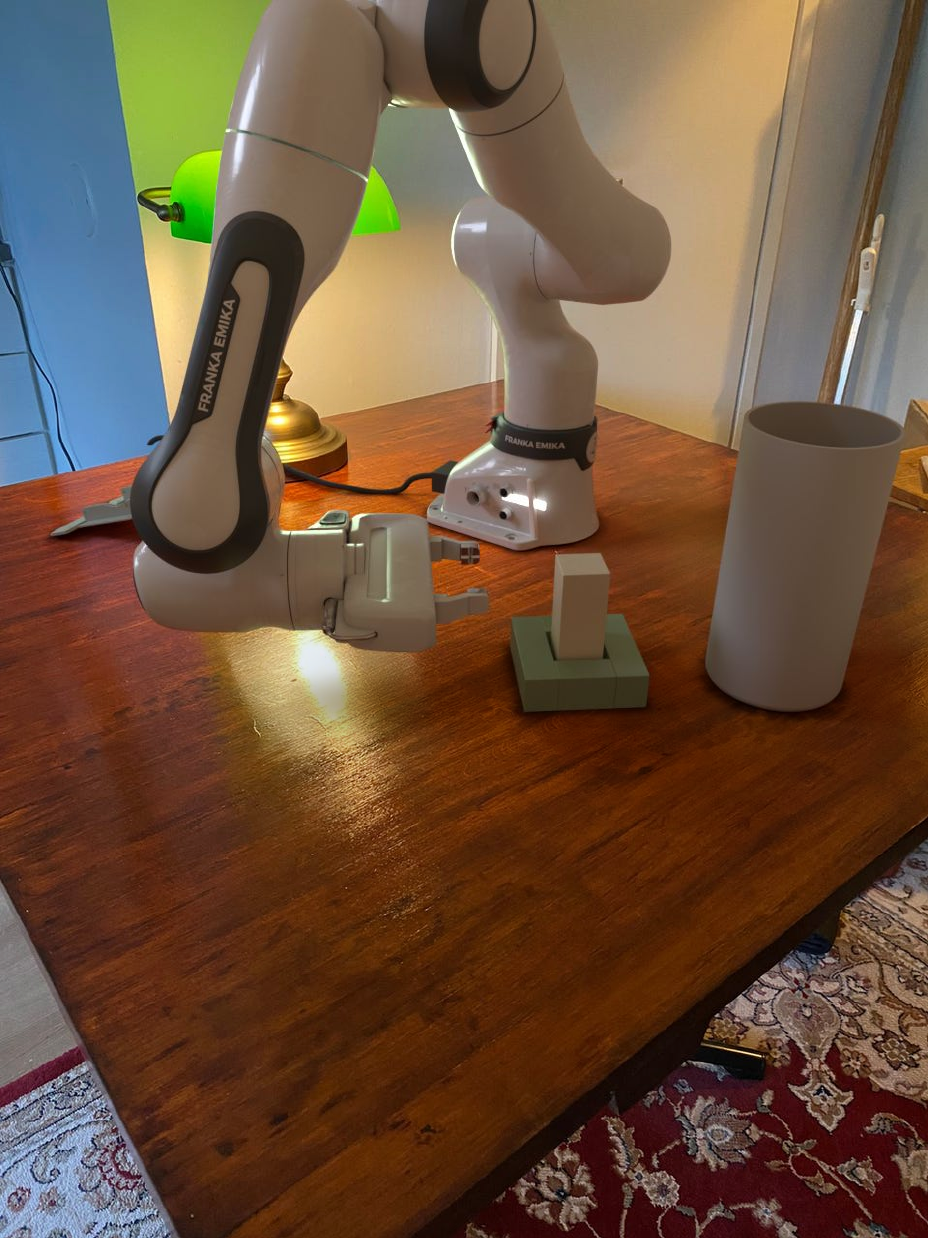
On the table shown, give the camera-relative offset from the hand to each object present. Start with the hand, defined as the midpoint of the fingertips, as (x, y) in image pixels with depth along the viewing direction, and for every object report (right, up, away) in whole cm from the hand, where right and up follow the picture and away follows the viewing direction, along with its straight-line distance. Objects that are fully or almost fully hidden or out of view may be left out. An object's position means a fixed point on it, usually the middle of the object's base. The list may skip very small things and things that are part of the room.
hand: (483, 575), depth 81 cm
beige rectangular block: (+9, -9, +6) cm, 14 cm away
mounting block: (+9, -9, +6) cm, 14 cm away
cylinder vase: (+28, -10, +6) cm, 30 cm away
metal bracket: (-45, +8, +37) cm, 59 cm away
